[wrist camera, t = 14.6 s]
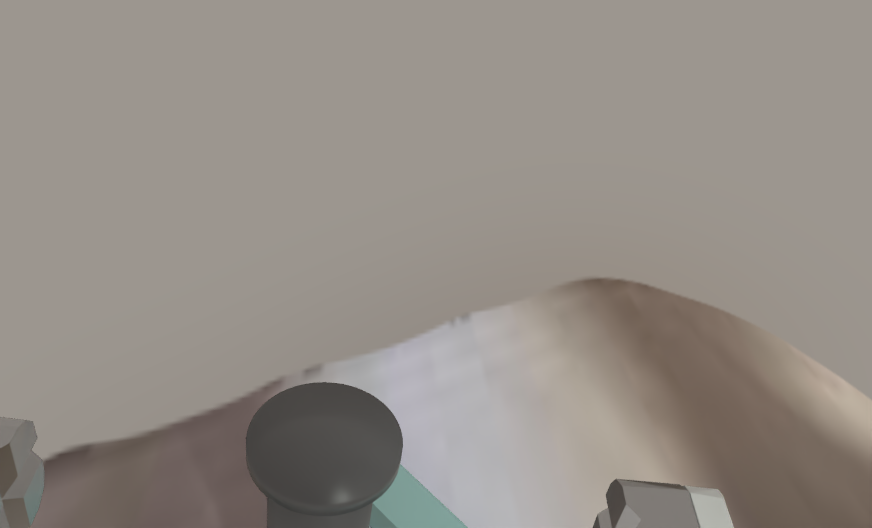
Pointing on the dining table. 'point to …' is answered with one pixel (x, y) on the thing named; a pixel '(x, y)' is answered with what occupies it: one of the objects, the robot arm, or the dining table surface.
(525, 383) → the dining table surface
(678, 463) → the dining table surface
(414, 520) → the notched board
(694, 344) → the dining table surface
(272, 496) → the door knob
